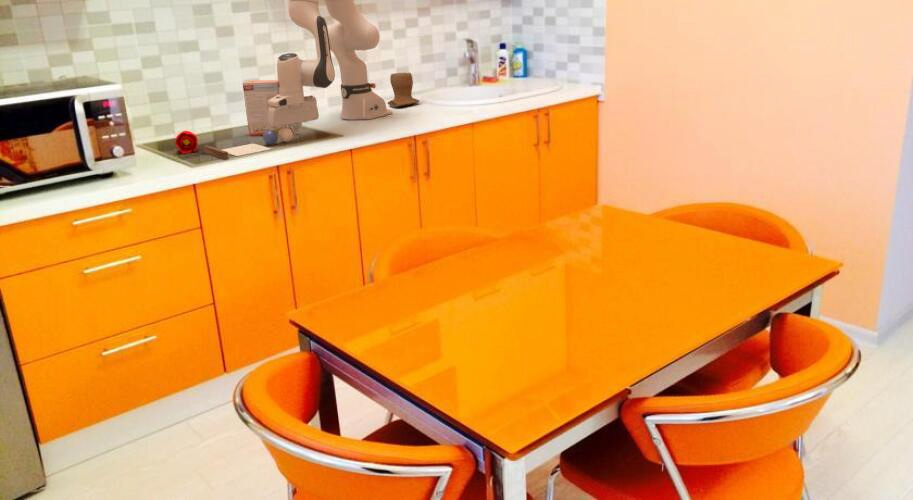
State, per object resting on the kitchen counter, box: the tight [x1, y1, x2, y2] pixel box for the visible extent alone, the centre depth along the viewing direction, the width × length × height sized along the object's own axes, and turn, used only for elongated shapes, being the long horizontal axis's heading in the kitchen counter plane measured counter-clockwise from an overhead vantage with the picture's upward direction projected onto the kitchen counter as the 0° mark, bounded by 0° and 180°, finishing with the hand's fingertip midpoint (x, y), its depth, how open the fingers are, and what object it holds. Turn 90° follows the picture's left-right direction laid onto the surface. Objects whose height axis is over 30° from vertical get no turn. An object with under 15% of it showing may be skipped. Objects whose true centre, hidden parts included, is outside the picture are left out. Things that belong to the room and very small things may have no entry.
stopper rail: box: [203, 145, 230, 161], centre depth 291 cm, size 2×16×2 cm, turn 41°
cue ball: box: [278, 127, 294, 143], centre depth 307 cm, size 6×6×6 cm
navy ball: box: [262, 130, 279, 146], centre depth 304 cm, size 6×6×6 cm
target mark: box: [221, 143, 272, 157], centre depth 298 cm, size 14×14×1 cm
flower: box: [174, 130, 198, 154], centre depth 299 cm, size 8×8×8 cm
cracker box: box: [242, 79, 288, 136], centre depth 320 cm, size 14×6×21 cm, turn 84°
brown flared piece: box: [387, 71, 420, 109], centre depth 370 cm, size 15×12×15 cm
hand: (295, 134), depth 310 cm, fingers closed
